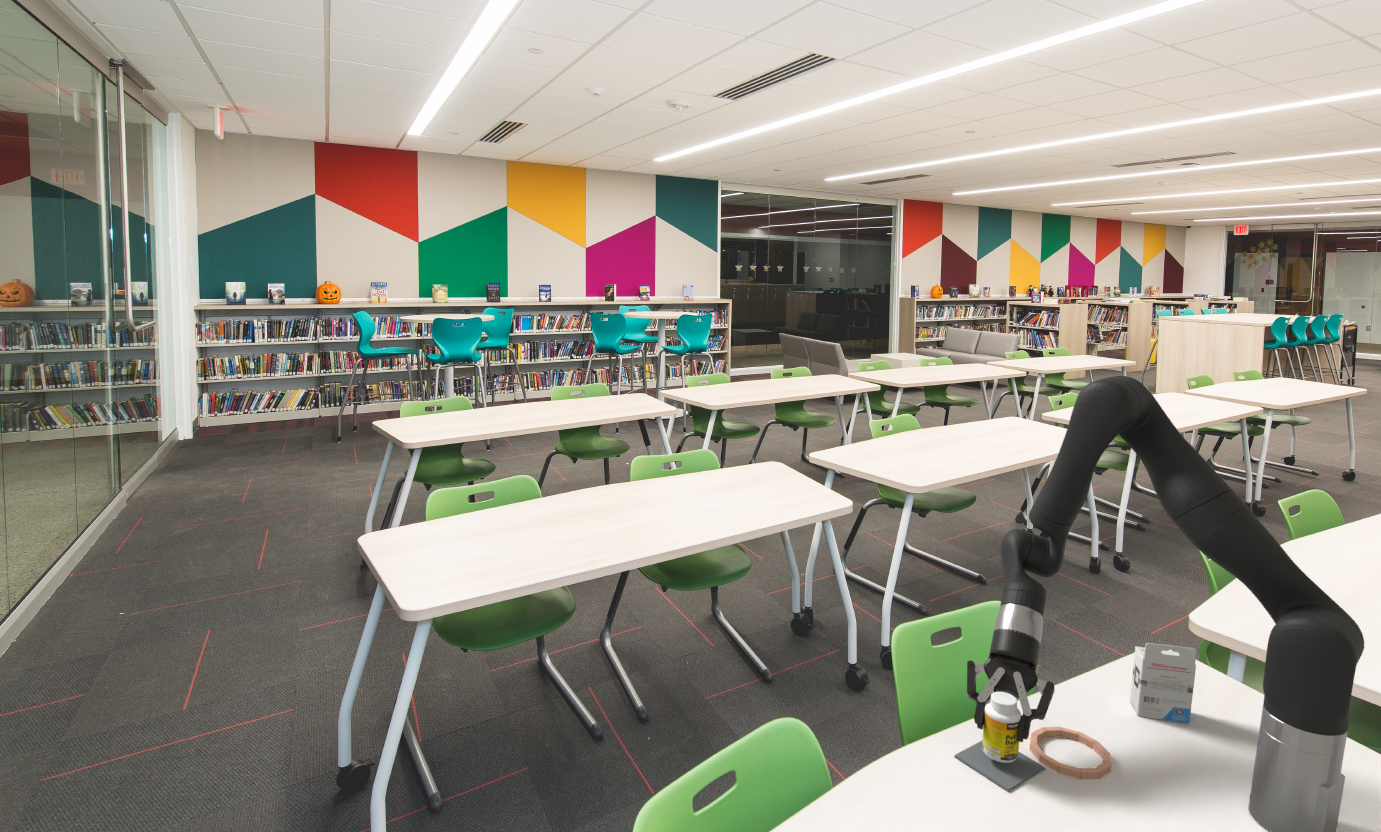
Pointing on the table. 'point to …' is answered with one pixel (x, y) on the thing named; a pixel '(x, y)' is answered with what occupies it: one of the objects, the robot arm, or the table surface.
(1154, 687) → the ink box
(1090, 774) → the faceted open ring
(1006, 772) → the mat
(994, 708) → the supplement bottle
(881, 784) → the table surface
